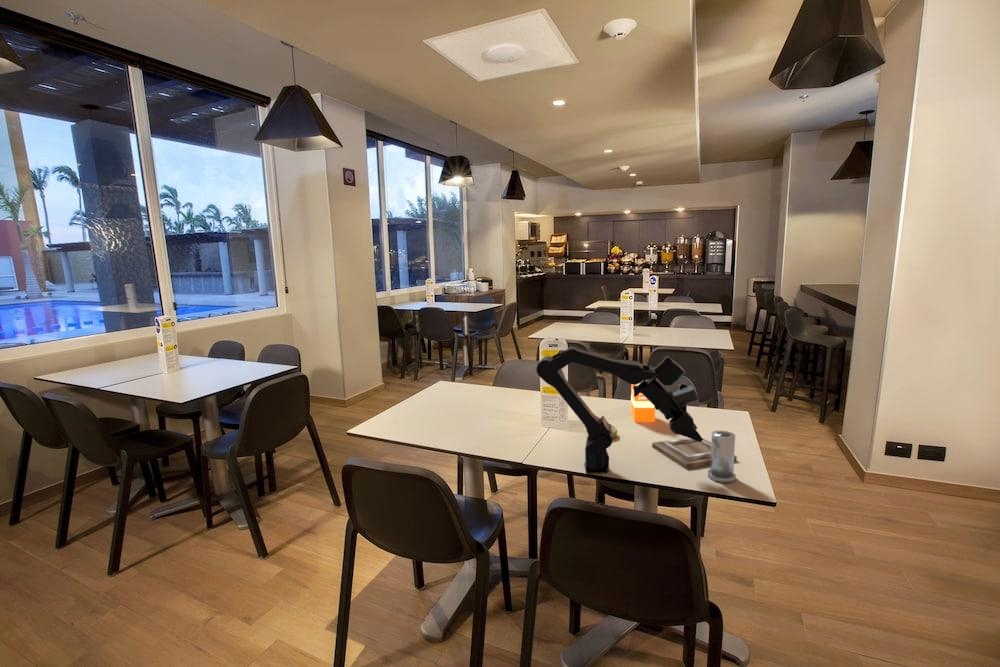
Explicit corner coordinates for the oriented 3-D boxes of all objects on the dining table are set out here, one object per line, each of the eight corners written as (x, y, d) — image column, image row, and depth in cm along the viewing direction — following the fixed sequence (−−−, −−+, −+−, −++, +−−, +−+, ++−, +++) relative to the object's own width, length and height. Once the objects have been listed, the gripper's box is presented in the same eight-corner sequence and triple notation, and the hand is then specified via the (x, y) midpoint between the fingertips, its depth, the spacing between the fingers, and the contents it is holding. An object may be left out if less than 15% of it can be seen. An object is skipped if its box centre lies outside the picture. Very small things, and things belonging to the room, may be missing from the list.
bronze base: (685, 469, 143) (686, 461, 143) (652, 447, 160) (652, 439, 160) (736, 460, 147) (736, 453, 147) (698, 440, 165) (698, 433, 164)
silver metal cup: (712, 483, 134) (714, 438, 132) (704, 472, 141) (705, 429, 139) (739, 483, 133) (741, 438, 131) (729, 472, 140) (731, 429, 138)
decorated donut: (606, 444, 165) (606, 433, 164) (580, 436, 172) (580, 426, 172) (622, 435, 172) (622, 425, 171) (597, 428, 180) (597, 419, 179)
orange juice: (650, 415, 192) (651, 366, 189) (655, 422, 183) (656, 372, 180) (630, 415, 193) (630, 366, 190) (634, 422, 184) (634, 372, 181)
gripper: (684, 385, 126) (728, 427, 125) (676, 369, 144) (714, 406, 143) (653, 413, 129) (695, 454, 128) (648, 394, 147) (685, 430, 146)
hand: (698, 434), depth 136 cm, fingers open, 9 cm apart
